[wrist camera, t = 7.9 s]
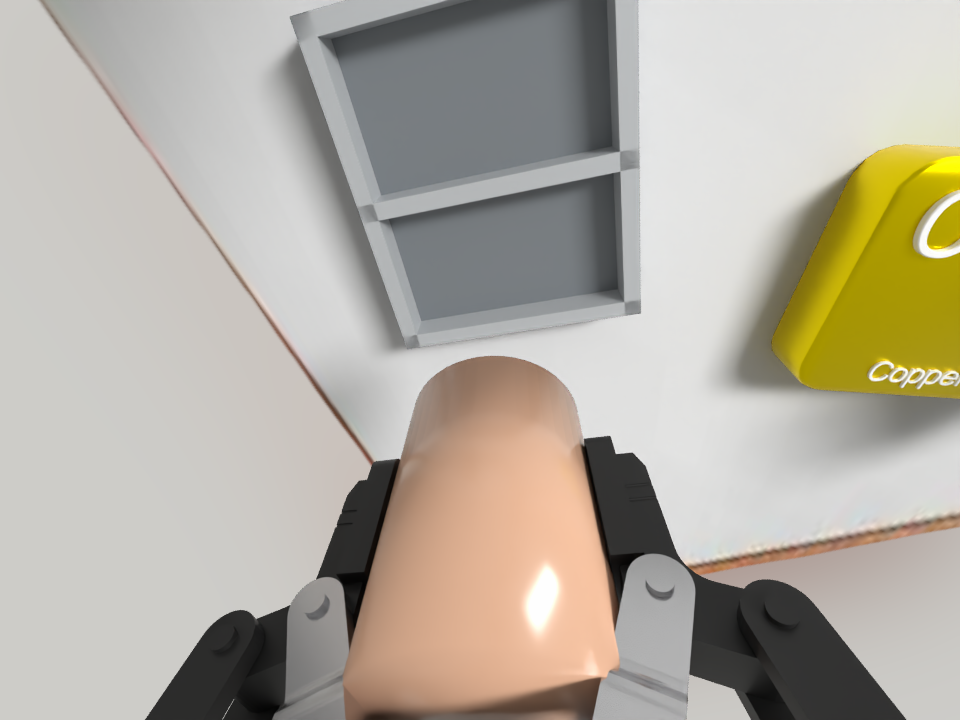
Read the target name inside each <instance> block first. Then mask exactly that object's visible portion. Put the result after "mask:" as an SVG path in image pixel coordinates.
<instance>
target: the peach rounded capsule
mask: <svg viewBox="0 0 960 720" xmlns="http://www.w3.org/2000/svg"><path fill="white" fill-rule="evenodd" d="M619 609H620V605H619V600H618V596H617V591H616V587H615V582H614V577H613V574H612V572H611V568H610V563H609V559H608V554H607V549H606V545H605V540H604V535H603V531H602V526H601V521H600V517H599V512H598V507H597V503H596V498H595V493H594V489H593V484H592V479H591V475H590V470H589V465H588V461H587V456H586V451H585V447H584V439H583V435H582V430H581V425H580V421H579V416H578V411H577V407H576V404H575V401H574V399H573V397H572V395H571V393H570V392H569V390H568V389H567V388H566V386H565V385H564V384H563V383H562V382H561V381H560V380H559V379H558V378H557V377H556V376H555V375H553V374H552V373H550V372H549V371H547V370H546V369H544V368H542V367H540V366H538V365H536V364H533V363H531V362H528V361H525V360H521V359H517V358H512V357H505V356H484V357H476V358H471V359H467V360H464V361H461V362H457V363H455V364H453V365H451V366H449V367H446V368H445V369H443V370H442V371H440V372H439V373H437V374H436V375H435V376H434V377H432V378H431V379H430V380H429V381H428V382H427V384H426V385H425V386H424V387H423V389H422V390H421V392H420V393H419V396H418V398H417V400H416V403H415V407H414V410H413V414H412V418H411V422H410V425H409V429H408V433H407V437H406V440H405V444H404V448H403V452H402V455H401V459H400V463H399V467H398V470H397V474H396V478H395V482H394V485H393V489H392V493H391V497H390V500H389V504H388V508H387V511H386V515H385V519H384V523H383V526H382V530H381V534H380V538H379V541H378V545H377V549H376V553H375V556H374V560H373V564H372V568H371V571H370V575H369V579H368V583H367V586H366V590H365V594H364V598H363V601H362V605H361V609H360V613H359V616H358V620H357V624H356V628H355V631H354V635H353V639H352V643H351V646H350V650H349V654H348V658H347V661H346V665H345V669H344V673H343V676H342V677H343V685H344V686H345V688H346V689H347V690H348V691H349V692H350V693H351V695H352V696H353V697H354V698H355V699H356V700H357V702H358V703H359V704H360V705H361V706H362V707H363V709H364V710H365V711H366V712H367V713H368V714H369V716H370V717H371V718H372V719H373V720H592V719H593V715H594V710H595V705H596V700H597V696H598V691H599V686H600V682H601V678H602V677H607V675H608V672H609V671H610V670H612V669H616V670H618V669H619V667H620V659H619V653H618V648H617V643H616V638H615V629H616V624H617V619H618V614H619ZM343 685H342V686H343Z"/></svg>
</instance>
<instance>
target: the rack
mask: <svg viewBox="0 0 960 720" xmlns="http://www.w3.org/2000/svg"><path fill="white" fill-rule="evenodd" d="M290 19H291V22H292V25H293V28H294V31H295V34H296V36H297V39H298V42H299V45H300V48H301V51H302V53H303V56H304V59H305V62H306V65H307V68H308V70H309V73H310V76H311V79H312V82H313V84H314V87H315V90H316V93H317V96H318V99H319V101H320V104H321V107H322V110H323V113H324V116H325V118H326V121H327V124H328V127H329V130H330V133H331V135H332V138H333V141H334V144H335V147H336V149H337V152H338V155H339V158H340V161H341V164H342V166H343V169H344V172H345V175H346V178H347V181H348V183H349V186H350V189H351V192H352V195H353V198H354V200H355V203H356V206H357V209H358V212H359V214H360V217H361V220H362V223H363V226H364V229H365V231H366V234H367V237H368V240H369V243H370V246H371V248H372V251H373V254H374V257H375V260H376V262H377V265H378V268H379V271H380V274H381V277H382V279H383V282H384V285H385V288H386V291H387V294H388V296H389V299H390V302H391V305H392V308H393V311H394V313H395V316H396V319H397V322H398V325H399V327H400V330H401V333H402V336H403V339H404V342H405V344H406V347H407V349H411V348H418V347H424V346H431V345H437V344H444V343H450V342H457V341H464V340H470V339H477V338H483V337H490V336H496V335H503V334H509V333H516V332H522V331H529V330H535V329H542V328H548V327H555V326H561V325H568V324H574V323H581V322H587V321H594V320H600V319H607V318H613V317H620V316H627V315H633V314H640V313H641V295H640V166H639V36H638V0H345V1H341V2H338V3H334V4H331V5H327V6H324V7H321V8H317V9H314V10H310V11H307V12H303V13H300V14H297V15H293V16H290Z"/></svg>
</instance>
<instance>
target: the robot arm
mask: <svg viewBox="0 0 960 720" xmlns="http://www.w3.org/2000/svg"><path fill="white" fill-rule="evenodd" d="M584 447H585V451H586V456H587V461H588V465H589V470H590V475H591V479H592V484H593V489H594V493H595V498H596V503H597V507H598V512H599V517H600V521H601V526H602V531H603V535H604V540H605V545H606V549H607V554H608V559H609V563H610V568H611V572H612V574H613V577H614V582H615V587H616V591H617V596H618V600H619V605H620V609H619V614H618V619H617V624H616V629H615V638H616V643H617V648H618V653H619V659H620V667H619V669H618V670H616V669H612V670H610V671H609V672H608V675H607V677H602V678H601V682H600V686H599V691H598V696H597V700H596V705H595V710H594V715H593V719H592V720H687V704H688V683H689V682H688V681H689V674H690V675H693V676H696V677H699V678H702V679H705V680H708V681H711V682H714V683H717V684H721V685H724V686H727V687H730V688H733V689H735V691H736V693H737V695H738V696H739V698H740V700H741V702H742V704H743V705H744V707H745V709H746V711H747V713H748V715H749V716H750V718H751V720H906V719H905V717H904V716H903V715H902V714H901V712H900V711H899V710H898V709H897V707H896V706H895V705H894V704H893V703H892V701H891V700H890V698H889V697H888V696H887V695H886V693H885V692H884V691H883V690H882V688H881V687H880V686H879V685H878V683H877V682H876V681H875V680H874V678H873V677H872V676H871V675H870V674H869V672H868V671H867V670H866V668H865V667H864V666H863V665H862V664H861V662H860V661H859V660H858V658H857V657H856V656H855V655H854V653H853V652H852V651H851V650H850V648H849V647H848V646H847V645H846V643H845V642H844V641H843V640H842V638H841V637H840V636H839V635H838V633H837V632H836V631H835V630H834V628H833V627H832V626H831V625H830V623H829V622H828V621H827V619H826V618H825V617H824V616H823V614H822V613H821V612H820V611H819V609H818V608H817V607H816V606H815V605H814V603H812V601H811V600H810V599H809V598H808V597H807V596H806V595H804V594H803V593H802V592H800V591H799V590H797V589H796V588H794V587H792V586H790V585H788V584H785V583H783V582H779V581H775V580H757V581H754V582H752V583H750V584H749V585H747V586H746V587H745V588H744V589H742V588H738V587H734V586H729V585H726V584H721V583H718V582H714V581H711V580H708V579H706V578H703V577H701V576H699V575H698V574H696V573H695V572H693V571H692V570H691V569H689V568H688V567H687V566H686V565H685V564H684V563H683V561H682V560H681V559H680V557H679V556H678V554H677V552H676V550H675V547H674V544H673V542H672V539H671V536H670V533H669V530H668V528H667V525H666V522H665V519H664V517H663V514H662V511H661V508H660V505H659V503H658V500H657V498H656V494H655V491H654V489H653V486H652V484H651V480H650V477H649V475H648V472H647V469H646V466H645V465H644V464H643V463H642V462H641V461H640V460H639V459H638V458H637V457H636V456H635V455H634V454H633V453H624V454H616V453H615V450H614V447H613V443H612V440H611V437H610V436H604V437H596V438H587V439H584ZM399 463H400V459H393V460H384V461H376V462H374V463H373V465H372V467H371V470H370V473H369V476H368V479H367V480H363V481H359V482H358V483H357V484H356V485H355V487H354V488H353V489H352V490H351V492H350V493H349V494H348V495H347V498H346V501H345V503H344V506H343V509H342V514H341V515H340V517H339V520H338V522H337V527H336V528H335V530H334V533H333V536H332V538H331V541H330V544H329V547H328V549H327V552H326V555H325V557H324V560H323V563H322V566H321V568H320V571H319V574H318V576H317V578H316V580H314V581H312V582H310V583H309V584H307V585H306V586H305V587H304V588H302V590H300V592H299V593H298V594H297V595H296V596H295V598H294V599H293V601H292V603H291V605H289V606H287V607H285V608H283V609H280V610H278V611H275V612H273V613H270V614H268V615H265V616H263V617H260V618H258V619H255V617H254V616H253V615H252V614H251V613H249V612H247V611H244V610H238V611H233V612H231V613H229V614H226V615H224V616H223V617H221V618H220V619H218V620H217V621H216V622H215V623H214V624H212V625H211V626H210V628H209V629H208V630H207V631H206V632H205V633H204V635H203V636H202V638H201V639H200V641H199V642H198V643H197V645H196V646H195V648H194V649H193V651H192V652H191V654H190V655H189V657H188V658H187V660H186V661H185V663H184V664H183V665H182V667H181V668H180V670H179V671H178V673H177V674H176V675H175V677H174V679H173V680H172V681H171V683H170V684H169V686H168V687H167V689H166V690H165V692H164V693H163V695H162V696H161V697H160V699H159V700H158V702H157V703H156V705H155V706H154V707H153V709H152V710H151V712H150V714H149V715H148V716H147V718H146V719H145V720H222V718H223V717H224V715H225V713H226V711H227V710H228V708H229V706H230V705H231V703H232V701H233V699H234V701H233V703H232V705H231V706H230V708H229V710H228V711H227V713H226V715H225V717H224V719H223V720H373V719H372V718H371V717H370V716H369V714H368V713H367V712H366V711H365V710H364V709H363V707H362V706H361V705H360V704H359V703H358V702H357V700H356V699H355V698H354V697H353V696H352V695H351V693H350V692H349V691H348V690H347V689H346V688H345V686H344V685H343V677H342V676H343V673H344V669H345V665H346V661H347V658H348V654H349V650H350V646H351V643H352V639H353V635H354V631H355V628H356V624H357V620H358V616H359V613H360V609H361V605H362V601H363V598H364V594H365V590H366V586H367V583H368V579H369V575H370V571H371V568H372V564H373V560H374V556H375V553H376V549H377V545H378V541H379V538H380V534H381V530H382V526H383V523H384V519H385V515H386V511H387V508H388V504H389V500H390V497H391V493H392V489H393V485H394V482H395V478H396V474H397V470H398V467H399ZM342 685H343V686H342Z"/></svg>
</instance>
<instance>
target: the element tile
mask: <svg viewBox="0 0 960 720" xmlns="http://www.w3.org/2000/svg"><path fill="white" fill-rule="evenodd" d="M772 351H773V352H774V354H775V355H776V356H777V358H778V359H779V360H780V361H781V362H782V363H783V364H784V365H785V366H786V367H787V368H788V369H789V370H790V372H791V373H792V374H793V375H794V376H795V377H796V378H797V379H798V380H799V381H800V382H801V383H802V384H804V385H806V386H808V387H810V388H813V389H818V390H830V391H846V392H862V393H878V394H893V395H909V396H925V397H941V398H956V399H960V147H947V146H927V145H908V144H905V145H895V146H891V147H888V148H885V149H882V150H879V151H877V152H876V153H874V154H873V155H871V156H870V157H868V158H867V159H865V160H864V161H863V163H862V164H861V165H860V166H859V167H858V168H857V169H856V170H855V171H854V173H853V174H852V175H851V177H850V178H849V180H848V182H847V184H846V186H845V188H844V190H843V192H842V194H841V196H840V198H839V200H838V202H837V204H836V207H835V209H834V211H833V213H832V215H831V217H830V219H829V221H828V223H827V225H826V227H825V229H824V231H823V233H822V235H821V238H820V240H819V242H818V244H817V246H816V248H815V250H814V252H813V254H812V256H811V258H810V260H809V262H808V264H807V266H806V269H805V271H804V273H803V275H802V277H801V279H800V281H799V283H798V285H797V287H796V289H795V291H794V293H793V295H792V298H791V300H790V302H789V304H788V306H787V308H786V310H785V312H784V314H783V316H782V318H781V320H780V322H779V324H778V326H777V329H776V331H775V333H774V335H773V338H772Z"/></svg>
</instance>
